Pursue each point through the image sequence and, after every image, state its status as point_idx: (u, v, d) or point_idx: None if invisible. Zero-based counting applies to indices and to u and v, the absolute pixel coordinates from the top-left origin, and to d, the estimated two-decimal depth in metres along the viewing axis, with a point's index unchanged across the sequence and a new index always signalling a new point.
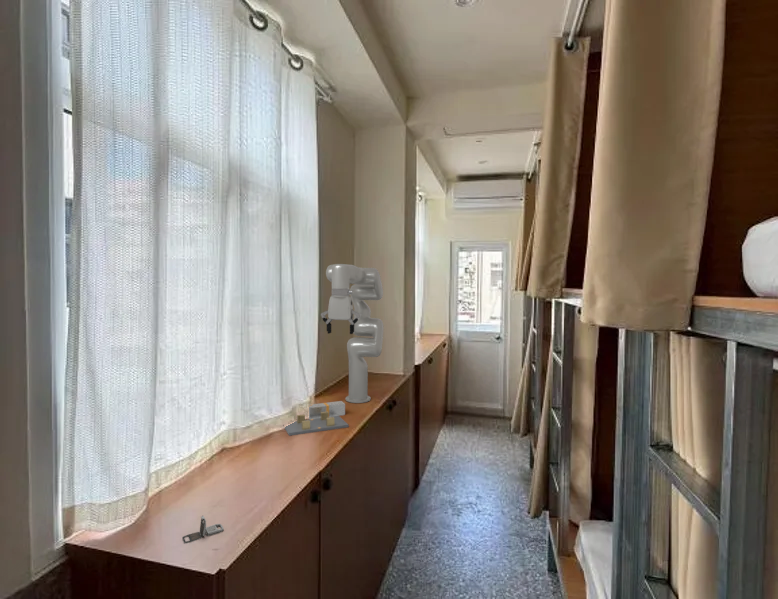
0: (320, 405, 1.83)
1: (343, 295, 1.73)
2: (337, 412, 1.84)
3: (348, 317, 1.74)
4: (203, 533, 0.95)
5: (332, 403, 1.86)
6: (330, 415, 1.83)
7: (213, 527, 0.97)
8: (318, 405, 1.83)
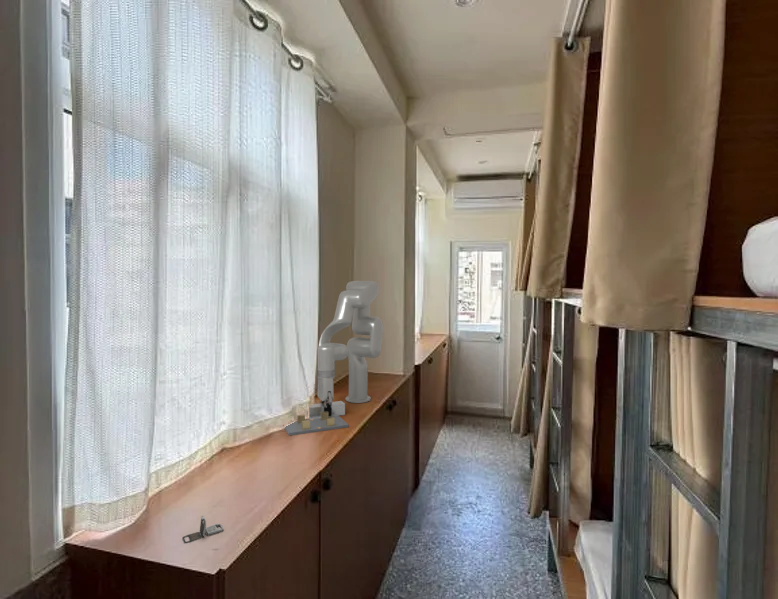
0: (320, 405, 1.82)
1: None
2: (337, 412, 1.84)
3: None
4: (203, 533, 0.95)
5: (332, 403, 1.86)
6: None
7: (213, 527, 0.97)
8: (318, 404, 1.83)
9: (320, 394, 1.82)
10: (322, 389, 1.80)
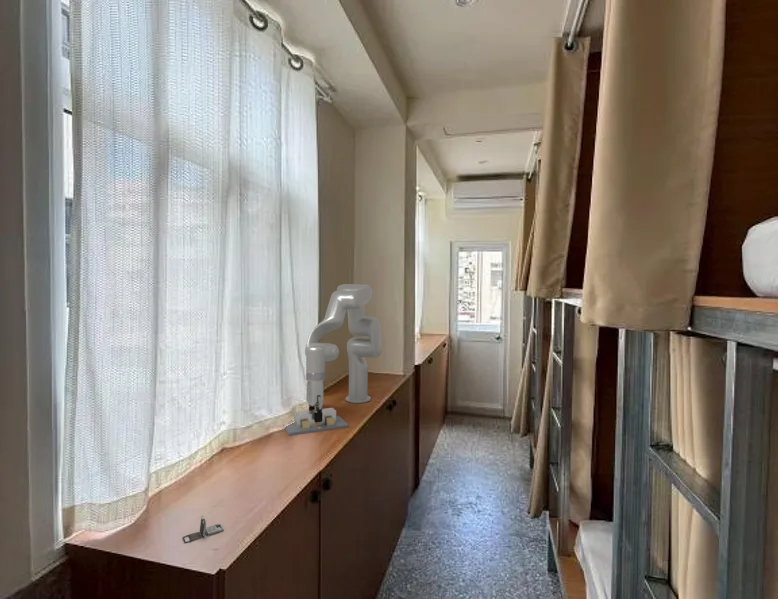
0: (309, 412, 1.68)
1: None
2: None
3: None
4: (203, 533, 0.95)
5: None
6: (320, 423, 1.69)
7: (213, 527, 0.97)
8: (307, 412, 1.69)
9: (309, 398, 1.68)
10: (311, 393, 1.65)
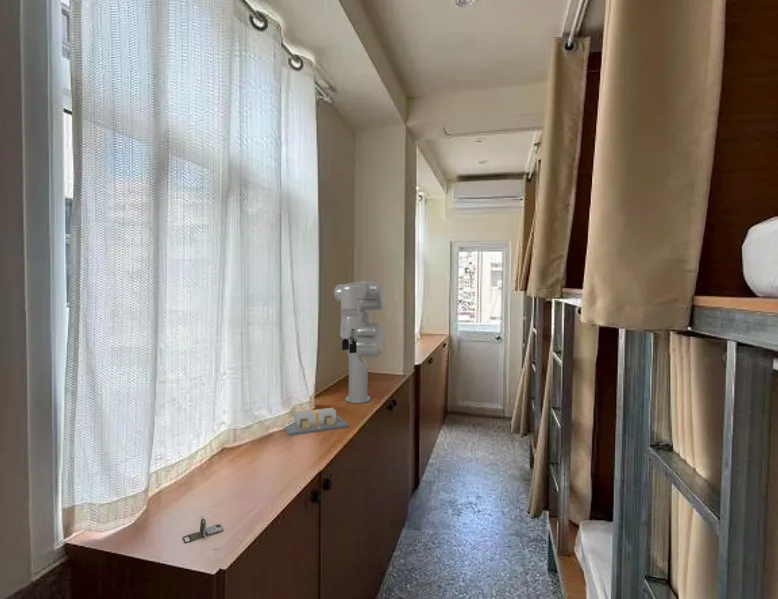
0: (309, 412, 1.68)
1: None
2: None
3: None
4: (203, 533, 0.95)
5: (322, 410, 1.72)
6: (320, 423, 1.69)
7: (213, 527, 0.97)
8: (307, 412, 1.69)
9: (344, 333, 1.84)
10: (346, 327, 1.81)
